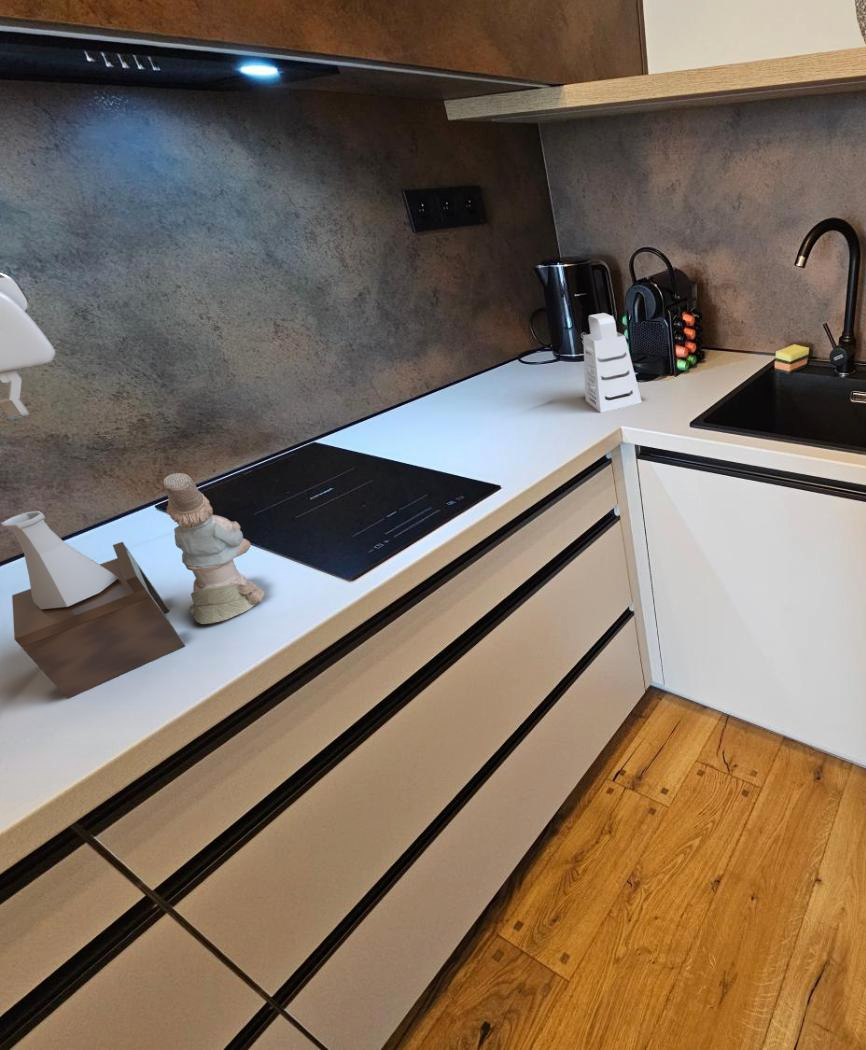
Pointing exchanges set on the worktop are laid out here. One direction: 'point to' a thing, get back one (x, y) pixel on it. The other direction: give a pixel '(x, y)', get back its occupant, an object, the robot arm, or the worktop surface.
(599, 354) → the grater
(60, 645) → the wooden block with backboard
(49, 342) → the robot arm
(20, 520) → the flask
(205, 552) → the figurine
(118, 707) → the worktop surface
